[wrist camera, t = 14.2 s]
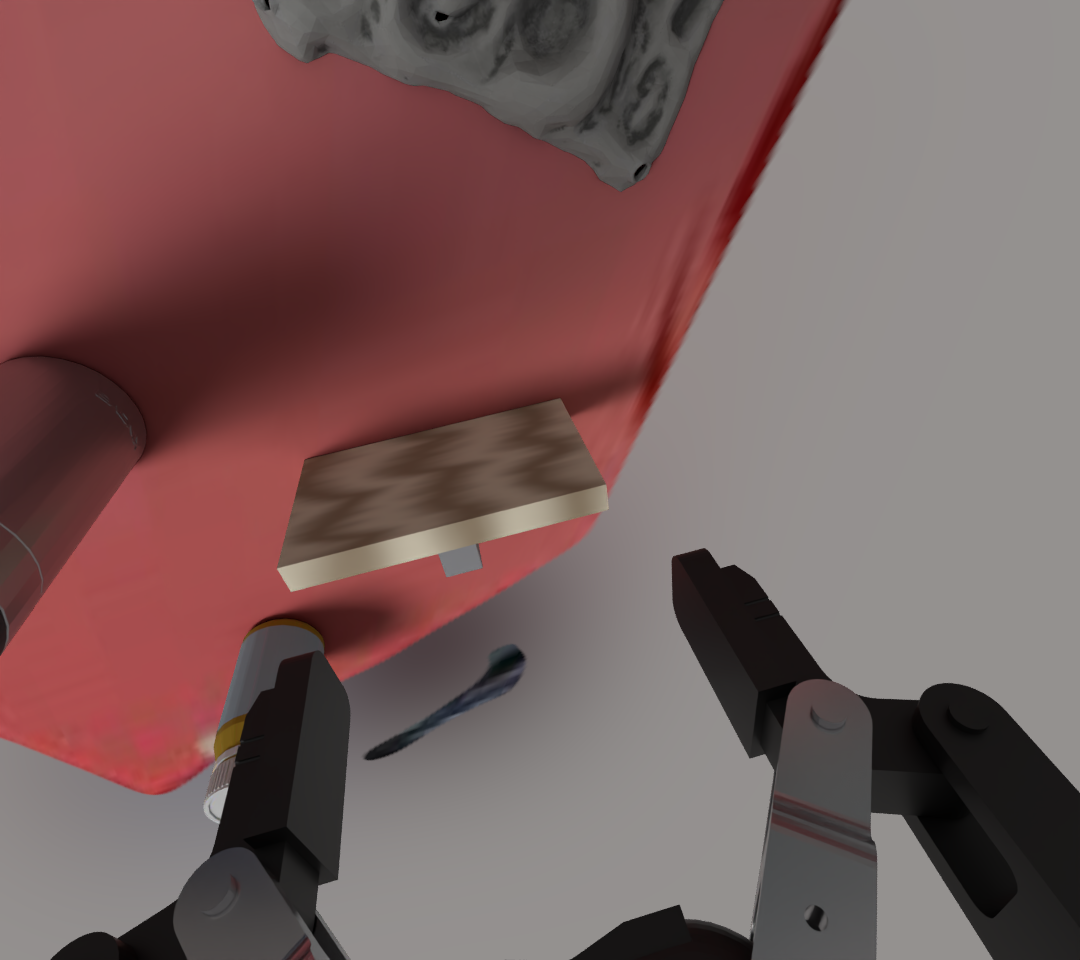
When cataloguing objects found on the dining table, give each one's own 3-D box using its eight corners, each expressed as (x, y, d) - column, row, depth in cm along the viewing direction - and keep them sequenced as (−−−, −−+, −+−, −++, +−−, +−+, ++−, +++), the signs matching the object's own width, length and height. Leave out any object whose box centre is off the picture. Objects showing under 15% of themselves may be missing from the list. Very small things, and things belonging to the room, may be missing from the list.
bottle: (303, 605, 50) (273, 767, 38) (338, 651, 55) (321, 810, 42) (228, 629, 50) (174, 800, 38) (268, 674, 54) (231, 841, 42)
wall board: (347, 546, 48) (334, 661, 38) (304, 459, 42) (276, 568, 33) (574, 488, 49) (617, 585, 40) (560, 398, 44) (606, 484, 34)
